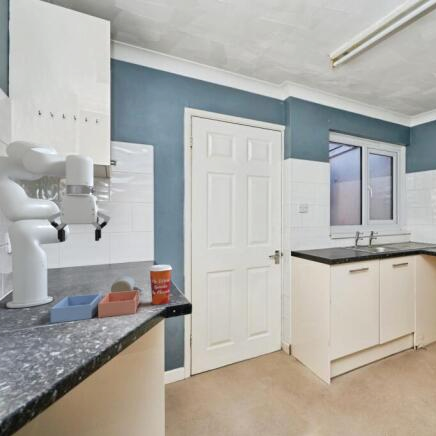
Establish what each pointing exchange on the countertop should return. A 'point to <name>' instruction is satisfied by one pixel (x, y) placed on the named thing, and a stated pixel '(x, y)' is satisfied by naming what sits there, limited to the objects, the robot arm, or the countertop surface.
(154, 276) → the paper cup
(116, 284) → the ceramic mug
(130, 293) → the clay bin
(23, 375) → the countertop surface
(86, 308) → the slate bin
